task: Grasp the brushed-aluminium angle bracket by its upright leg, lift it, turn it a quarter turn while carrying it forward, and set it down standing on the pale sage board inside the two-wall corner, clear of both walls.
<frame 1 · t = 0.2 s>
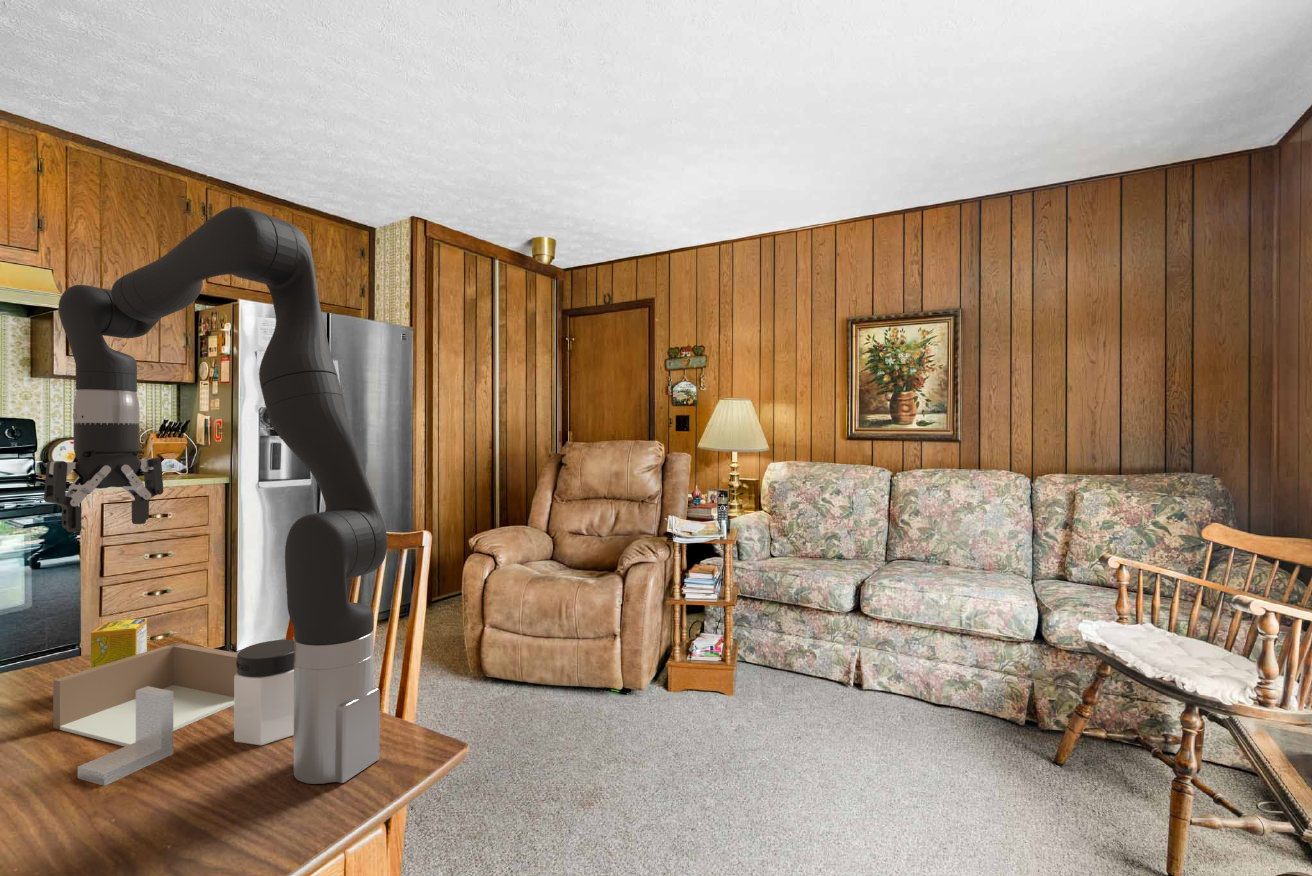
hand: (107, 527, 94), 28 cm above the table, fingers open, 8 cm apart
supplement box: (119, 691, 103), on the table
bracket: (127, 766, 81), on the table
jar: (270, 732, 90), on the table
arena: (157, 712, 95), on the table
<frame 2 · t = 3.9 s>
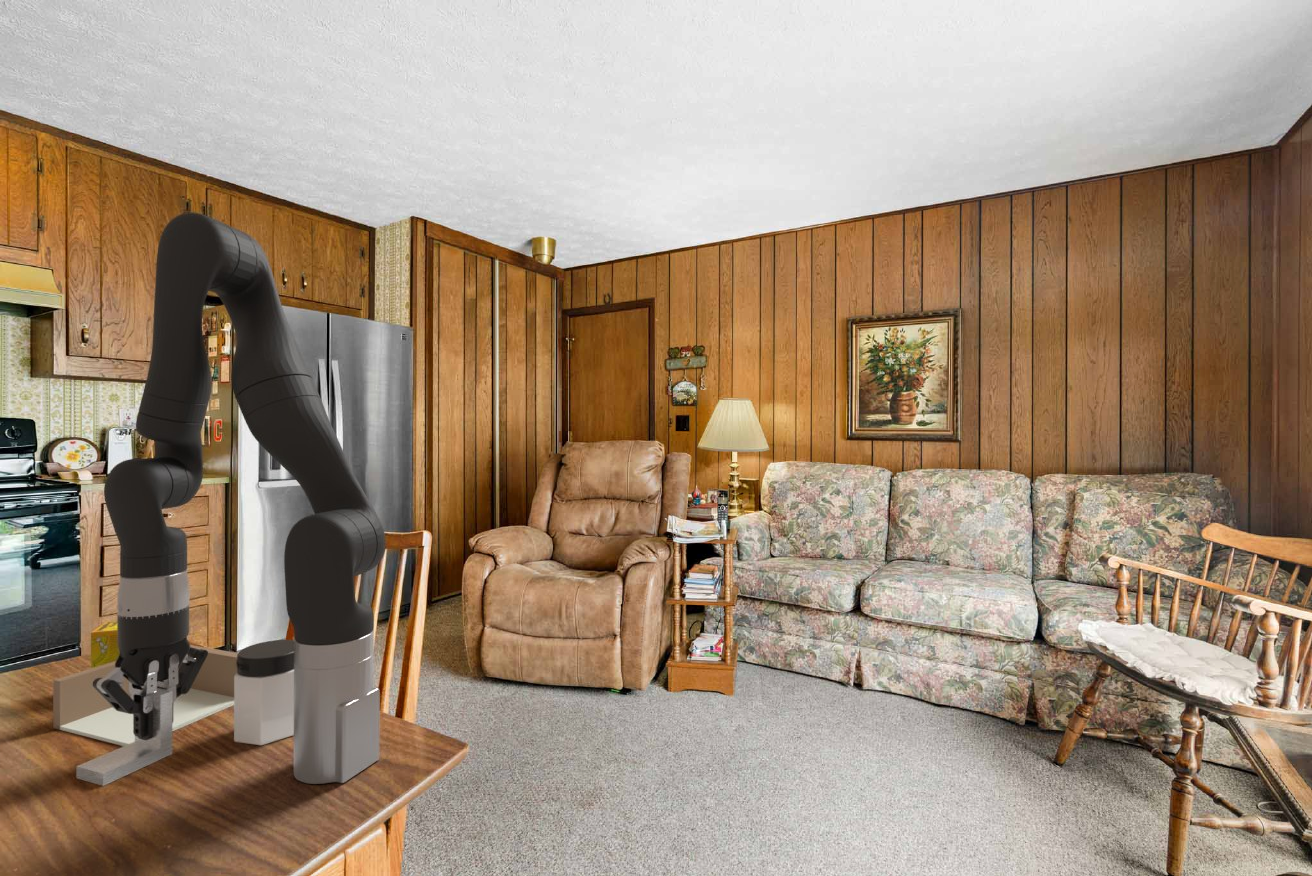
hand: (153, 734, 84), 3 cm above the table, fingers closed on bracket
bracket: (126, 765, 80), on the table, touching gripper
everything else where it was.
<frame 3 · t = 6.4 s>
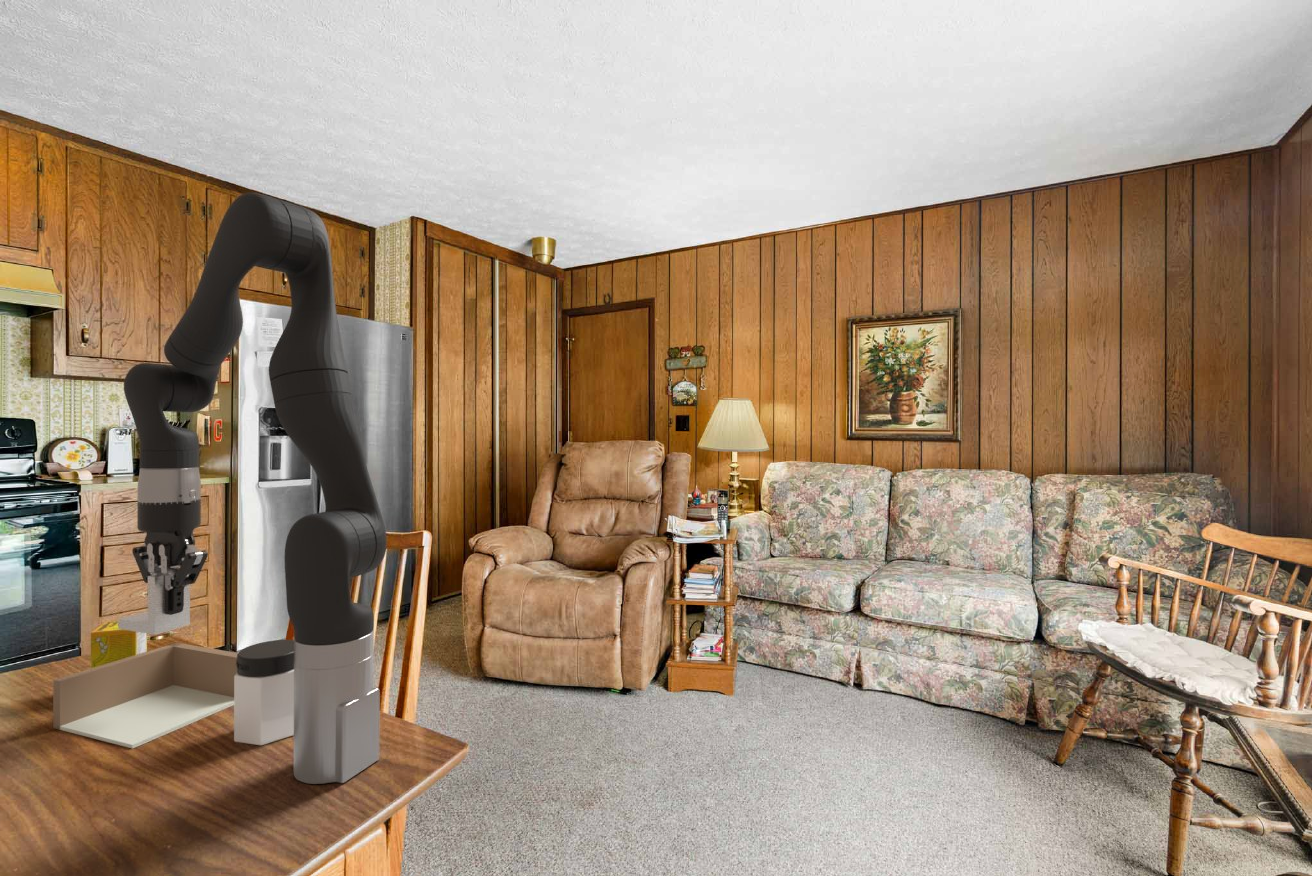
hand: (169, 612, 94), 16 cm above the table, fingers closed on bracket
bracket: (154, 626, 95), point 13 cm above the table, touching gripper
everything else where it was.
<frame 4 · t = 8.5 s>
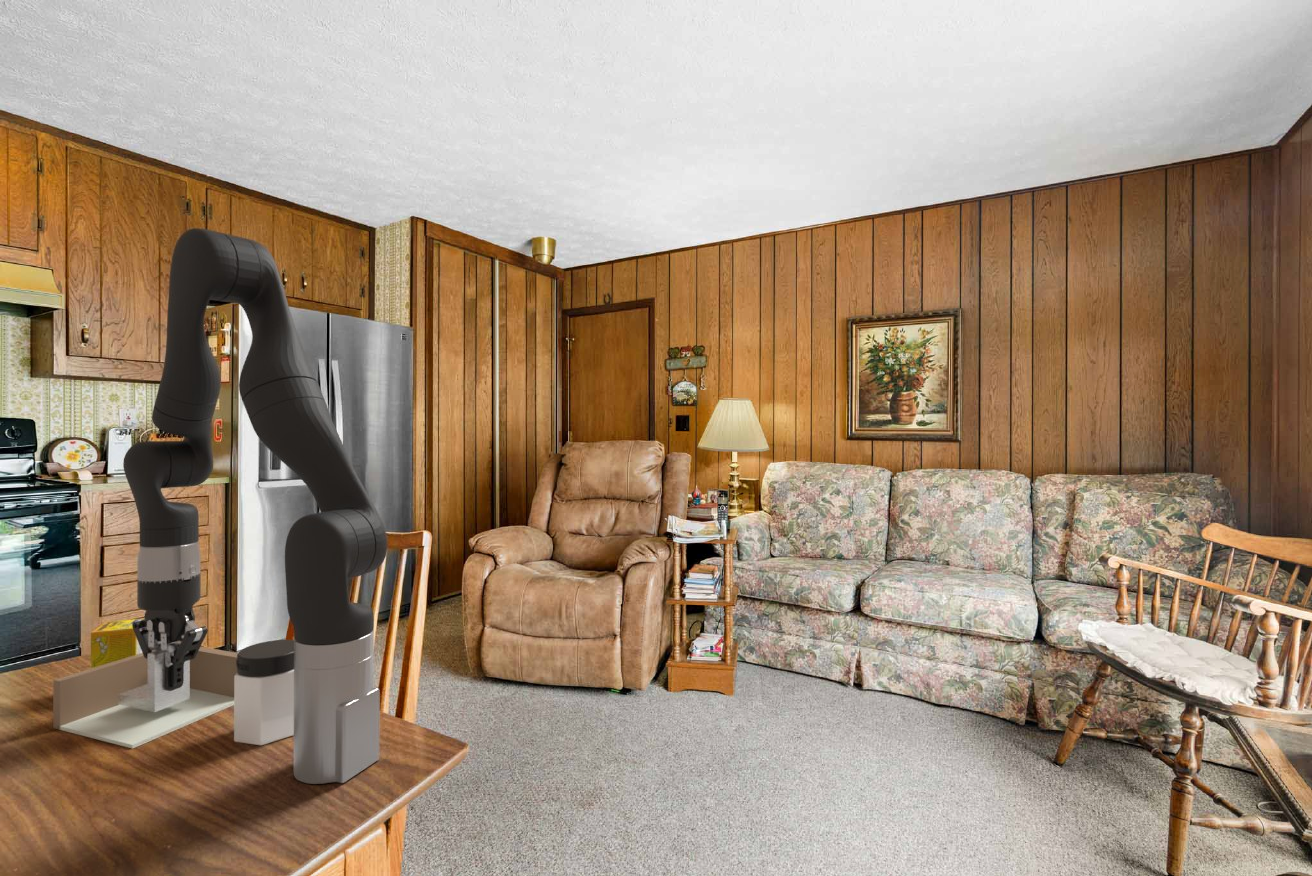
hand: (169, 687, 94), 5 cm above the table, fingers closed on bracket
bracket: (154, 701, 95), point 2 cm above the table, touching gripper
everything else where it was.
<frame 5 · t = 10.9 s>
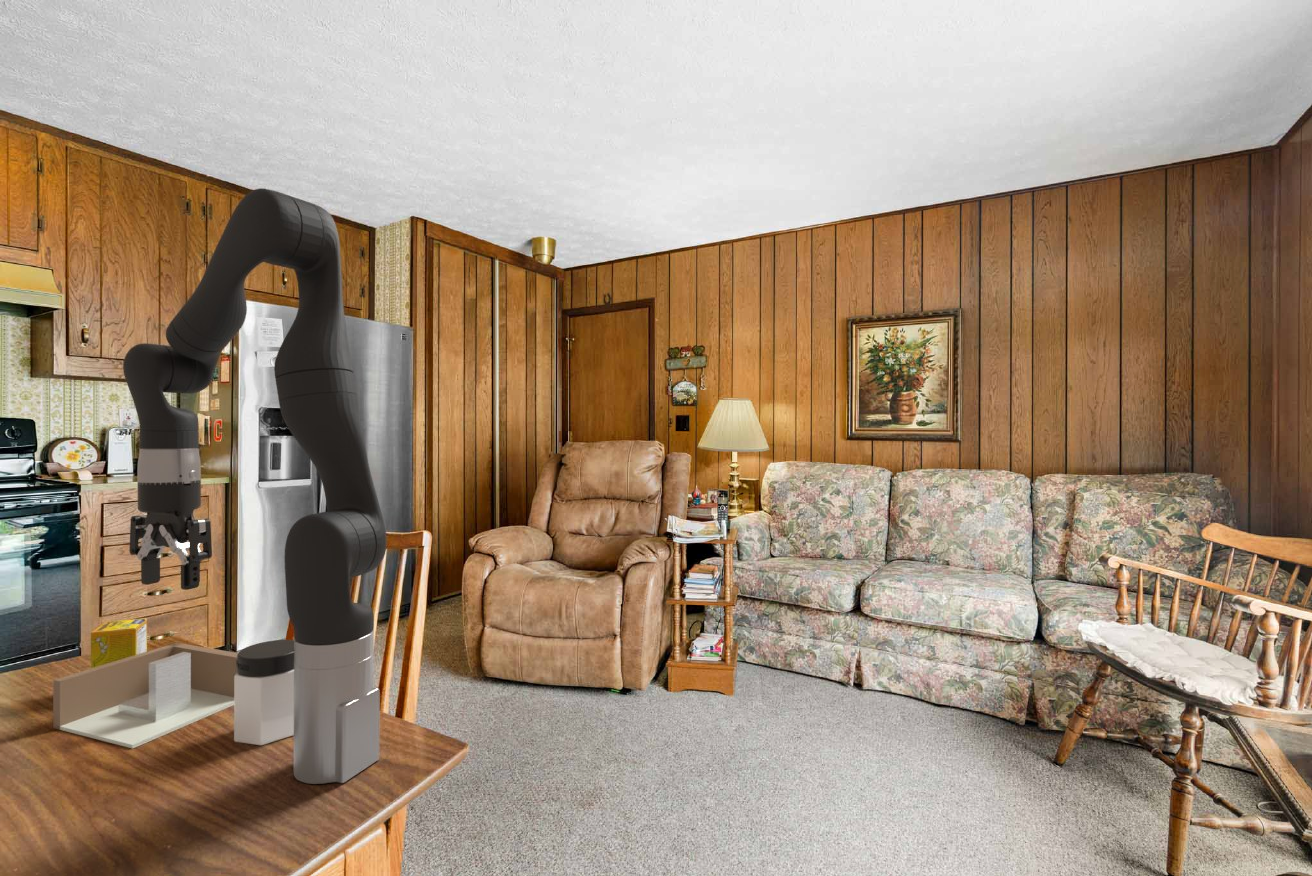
hand: (170, 586, 94), 20 cm above the table, fingers open, 8 cm apart
bracket: (155, 710, 95), resting on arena
everything else where it was.
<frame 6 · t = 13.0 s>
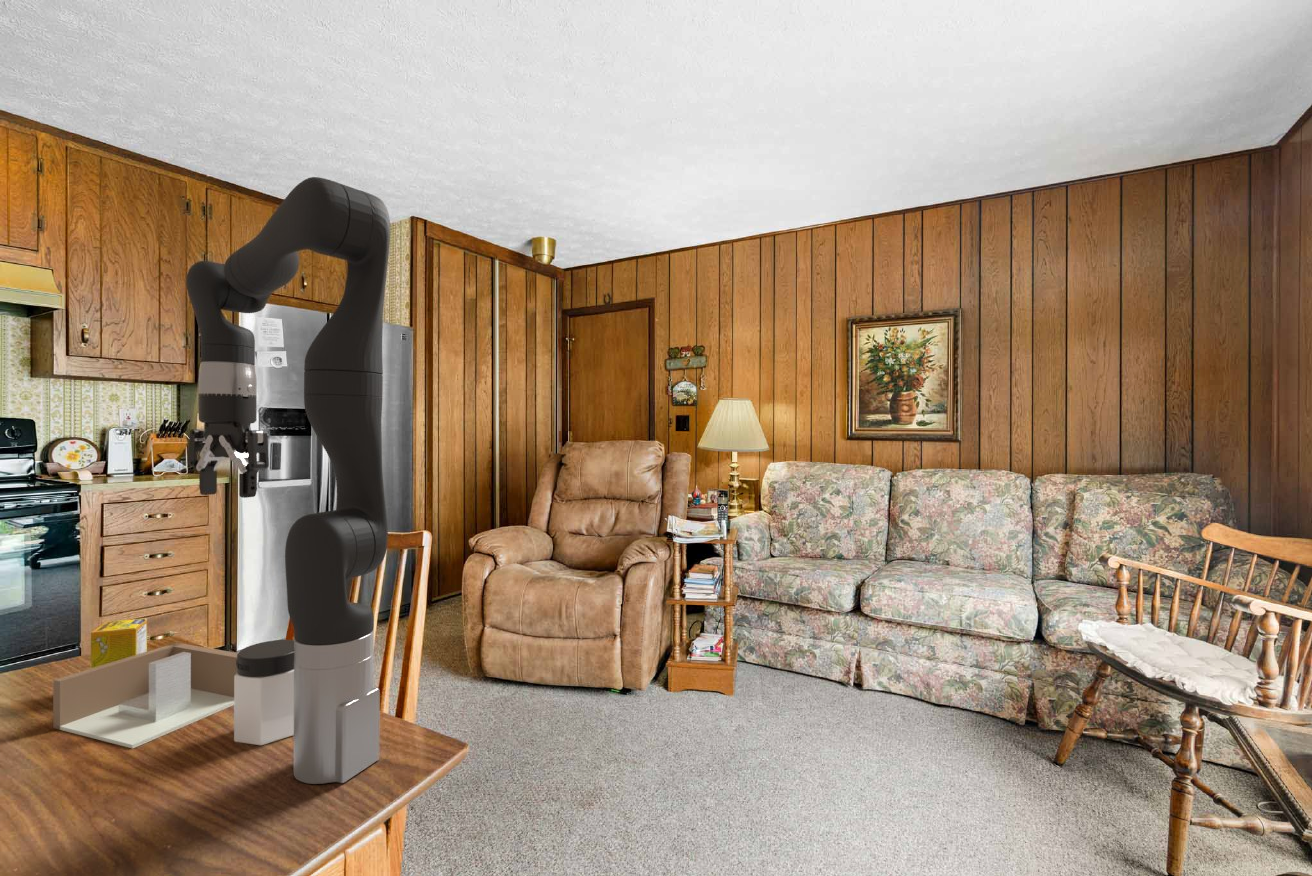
hand: (227, 495, 98), 33 cm above the table, fingers open, 8 cm apart
nothing on the table moved.
at the end: bracket inside the target area on the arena (0.9 cm from its centre), point 0.5 cm above the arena's base; bracket tilted 0°; the gripper is holding nothing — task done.
